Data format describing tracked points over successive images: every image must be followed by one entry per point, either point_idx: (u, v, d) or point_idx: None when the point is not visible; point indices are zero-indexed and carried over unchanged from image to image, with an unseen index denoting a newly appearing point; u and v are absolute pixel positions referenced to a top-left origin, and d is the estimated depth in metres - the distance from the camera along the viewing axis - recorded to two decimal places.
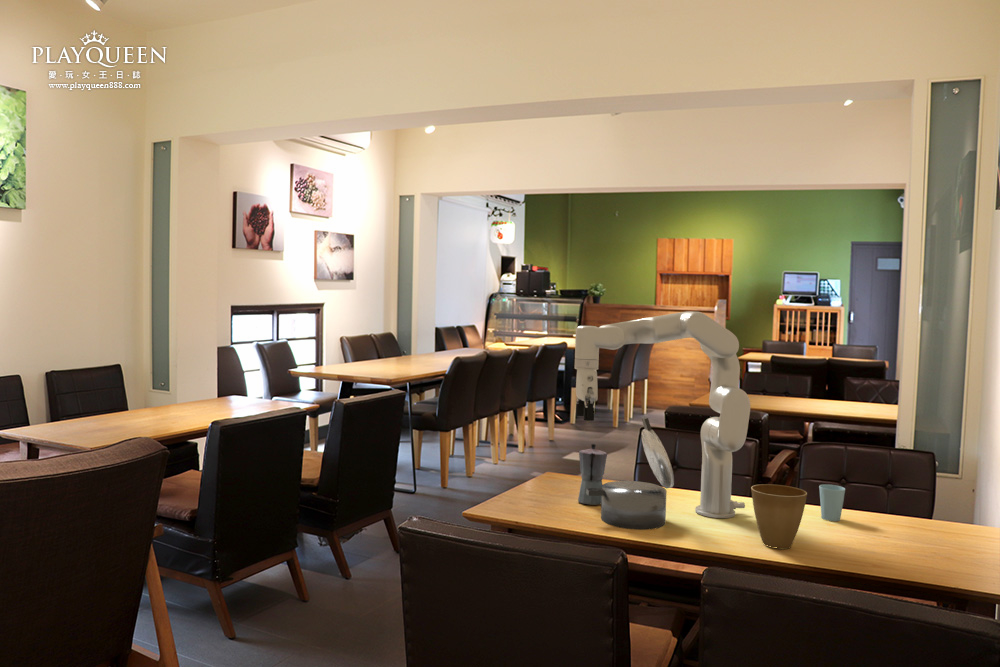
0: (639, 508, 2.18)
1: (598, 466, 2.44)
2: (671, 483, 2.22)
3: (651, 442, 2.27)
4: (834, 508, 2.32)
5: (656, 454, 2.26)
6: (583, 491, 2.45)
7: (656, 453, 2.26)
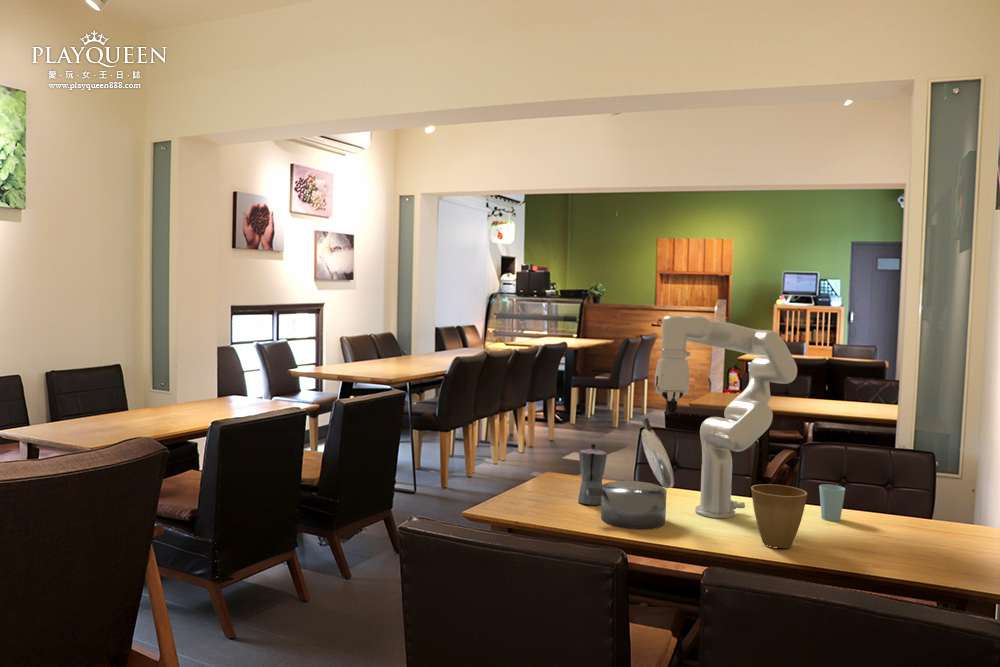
0: (639, 508, 2.18)
1: (598, 466, 2.44)
2: (671, 483, 2.22)
3: (651, 442, 2.27)
4: (834, 508, 2.32)
5: (656, 454, 2.26)
6: (583, 491, 2.45)
7: (656, 453, 2.26)
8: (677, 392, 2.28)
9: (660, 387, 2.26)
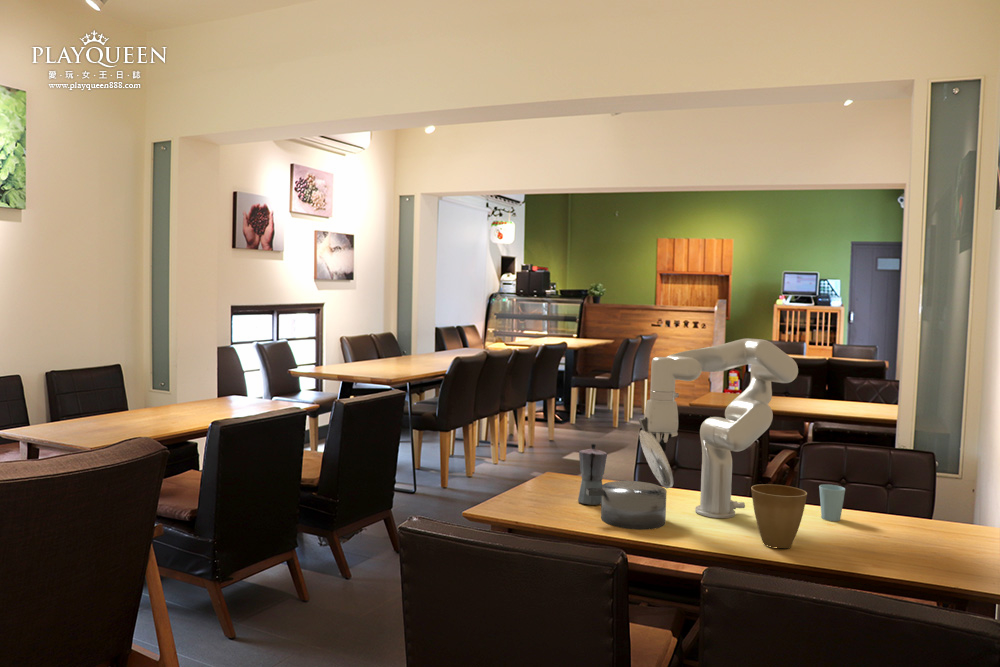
0: (639, 508, 2.18)
1: (598, 466, 2.44)
2: (671, 483, 2.22)
3: (649, 443, 2.27)
4: (834, 508, 2.32)
5: (654, 455, 2.26)
6: (583, 491, 2.45)
7: (654, 454, 2.26)
8: (666, 433, 2.28)
9: (649, 429, 2.26)
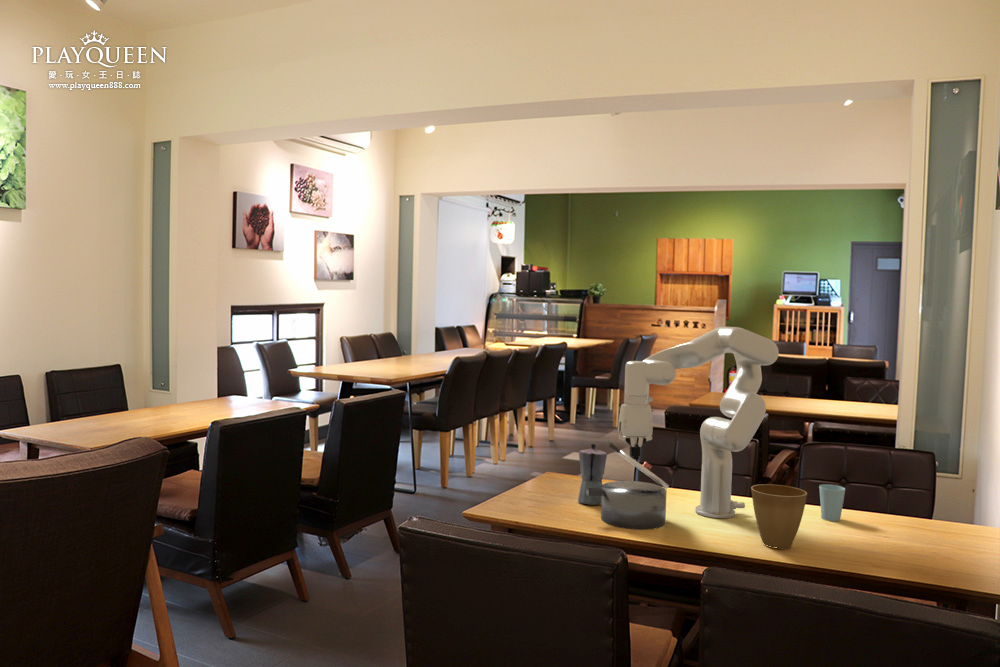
0: (639, 508, 2.18)
1: (598, 466, 2.44)
2: (665, 486, 2.22)
3: (627, 460, 2.26)
4: (834, 508, 2.32)
5: None
6: (583, 491, 2.45)
7: None
8: (640, 438, 2.27)
9: (623, 433, 2.25)
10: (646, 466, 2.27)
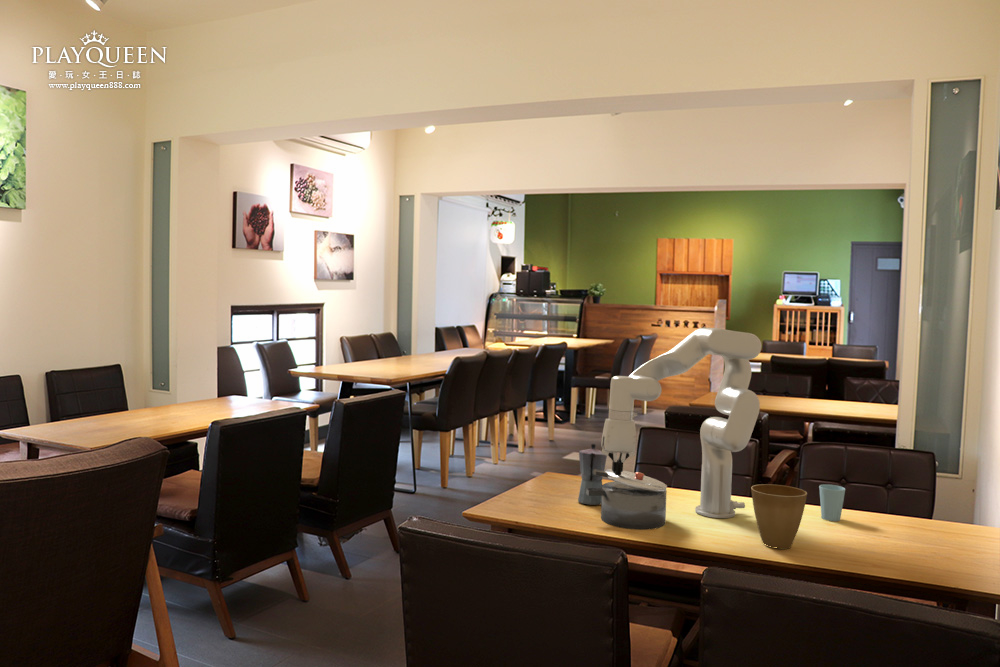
0: (639, 508, 2.18)
1: (598, 466, 2.44)
2: (663, 490, 2.22)
3: None
4: (834, 508, 2.32)
5: None
6: (583, 491, 2.45)
7: None
8: (623, 453, 2.26)
9: (606, 448, 2.25)
10: (638, 477, 2.27)
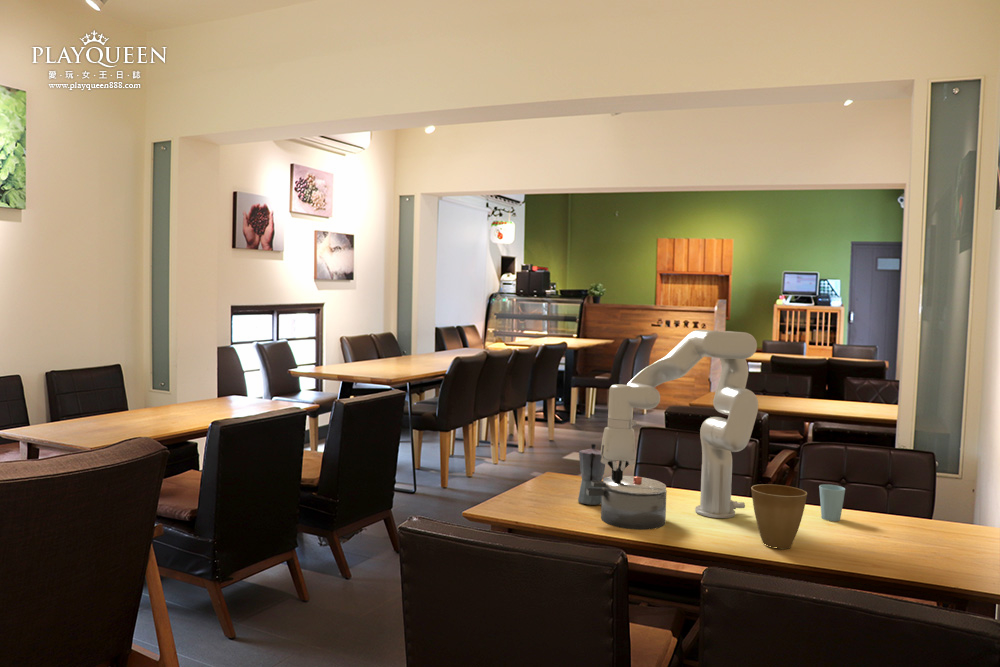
0: (639, 508, 2.18)
1: (598, 466, 2.44)
2: (662, 491, 2.22)
3: None
4: (834, 508, 2.32)
5: None
6: (583, 491, 2.45)
7: None
8: (623, 462, 2.26)
9: (605, 457, 2.25)
10: (637, 481, 2.27)
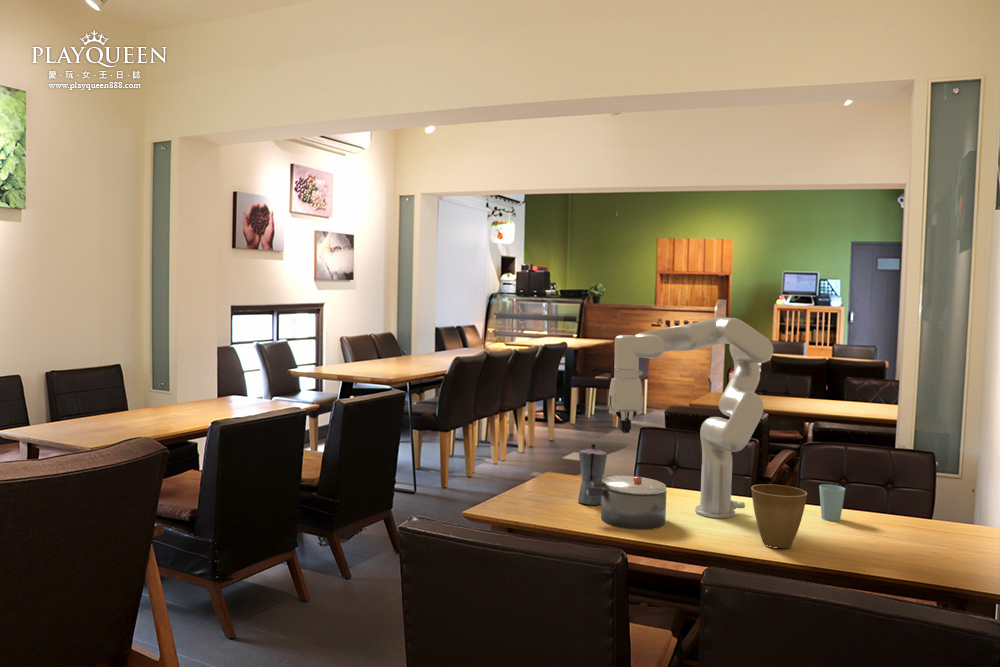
0: (639, 508, 2.18)
1: (598, 466, 2.44)
2: (662, 491, 2.22)
3: None
4: (834, 508, 2.32)
5: None
6: (583, 491, 2.45)
7: None
8: (631, 411, 2.28)
9: (613, 407, 2.26)
10: (637, 481, 2.27)
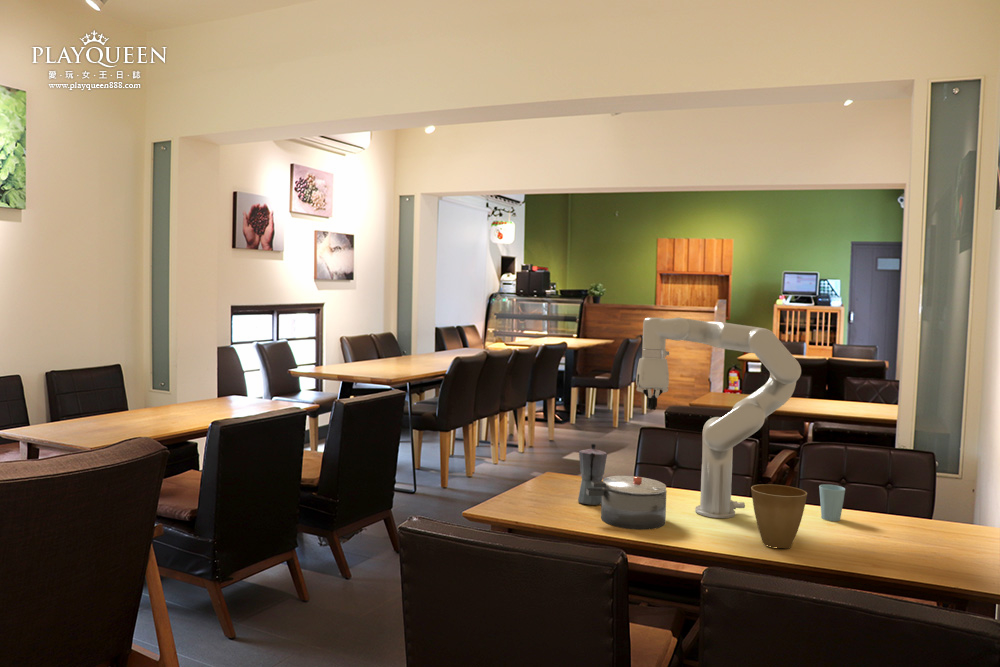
0: (639, 508, 2.18)
1: (598, 466, 2.44)
2: (662, 491, 2.22)
3: None
4: (834, 508, 2.32)
5: None
6: (583, 491, 2.45)
7: None
8: (657, 389, 2.41)
9: (641, 385, 2.40)
10: (637, 481, 2.27)
